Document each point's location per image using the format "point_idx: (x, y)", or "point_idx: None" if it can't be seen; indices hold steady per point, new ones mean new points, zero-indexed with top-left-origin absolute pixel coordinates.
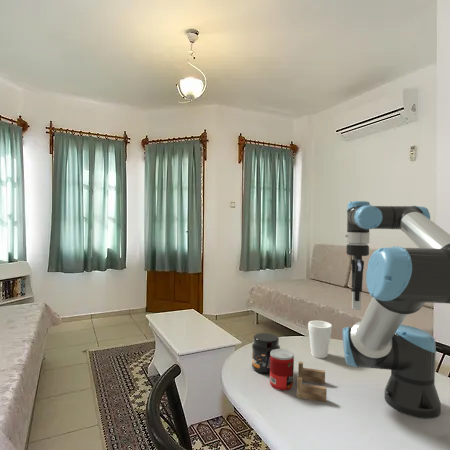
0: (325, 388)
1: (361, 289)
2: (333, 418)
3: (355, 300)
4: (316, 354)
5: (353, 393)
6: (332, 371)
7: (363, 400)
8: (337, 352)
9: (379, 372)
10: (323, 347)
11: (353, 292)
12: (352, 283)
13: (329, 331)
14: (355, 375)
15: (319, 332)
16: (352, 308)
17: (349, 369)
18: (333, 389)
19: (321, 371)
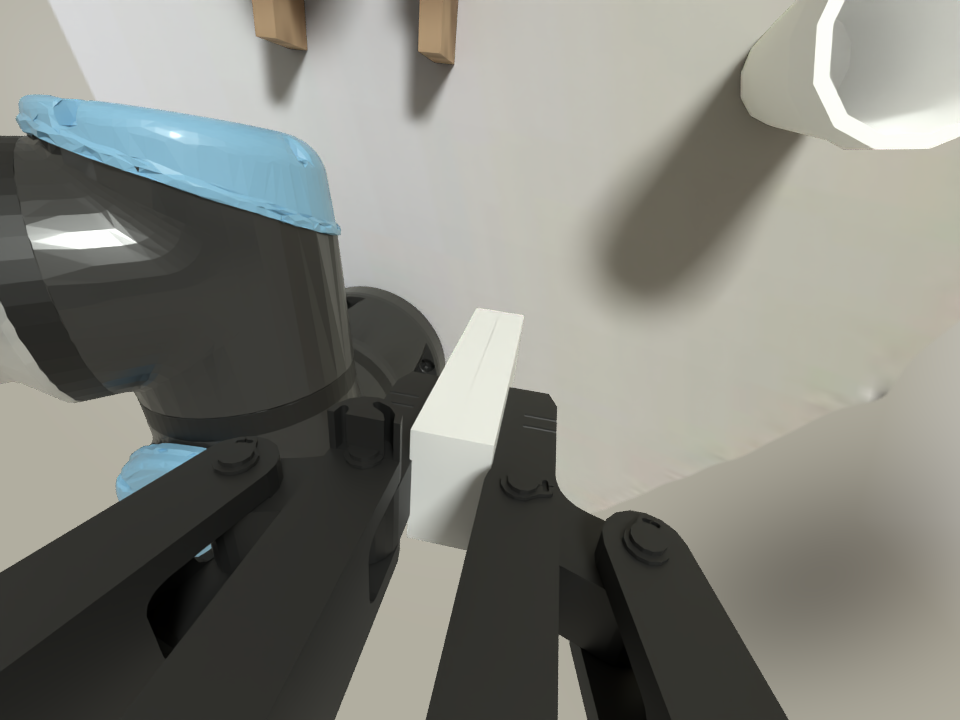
0: (260, 31)
1: (212, 560)
2: (197, 64)
3: (408, 379)
4: (758, 40)
5: (386, 184)
6: (569, 125)
7: (348, 210)
8: (819, 201)
9: (579, 340)
10: (758, 83)
11: (418, 428)
12: (622, 603)
13: (808, 120)
14: (540, 232)
15: (803, 14)
16: (476, 311)
17: (598, 219)
18: (396, 100)
19: (424, 29)
